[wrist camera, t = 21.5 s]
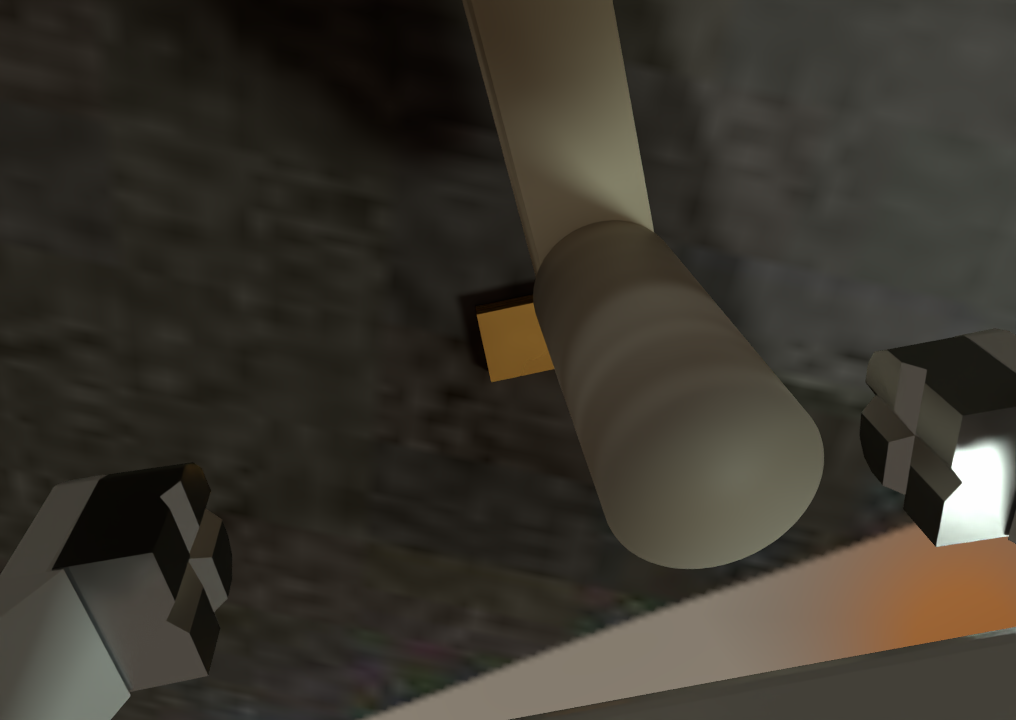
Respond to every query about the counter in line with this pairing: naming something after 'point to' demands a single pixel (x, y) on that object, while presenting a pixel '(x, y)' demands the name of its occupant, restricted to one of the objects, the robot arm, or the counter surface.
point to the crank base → (512, 338)
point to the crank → (634, 306)
